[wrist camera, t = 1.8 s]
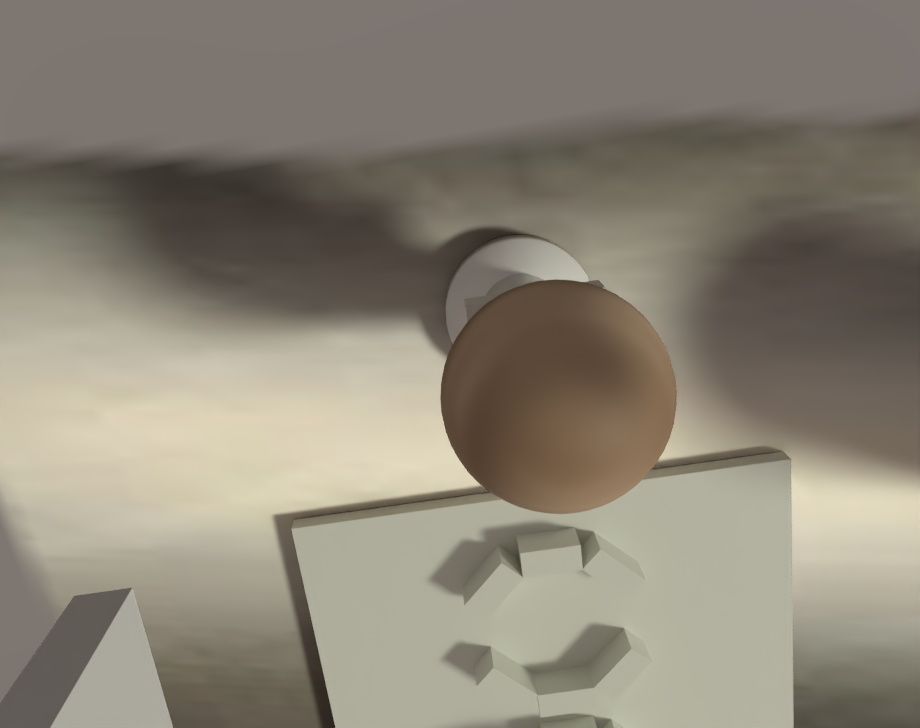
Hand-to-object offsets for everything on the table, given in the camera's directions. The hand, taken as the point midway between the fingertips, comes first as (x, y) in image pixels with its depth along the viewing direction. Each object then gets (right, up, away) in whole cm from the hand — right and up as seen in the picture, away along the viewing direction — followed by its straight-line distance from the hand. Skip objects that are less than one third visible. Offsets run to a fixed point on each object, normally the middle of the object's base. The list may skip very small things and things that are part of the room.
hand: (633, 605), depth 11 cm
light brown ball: (0, +3, +9) cm, 10 cm away
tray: (+2, -12, +20) cm, 23 cm away
